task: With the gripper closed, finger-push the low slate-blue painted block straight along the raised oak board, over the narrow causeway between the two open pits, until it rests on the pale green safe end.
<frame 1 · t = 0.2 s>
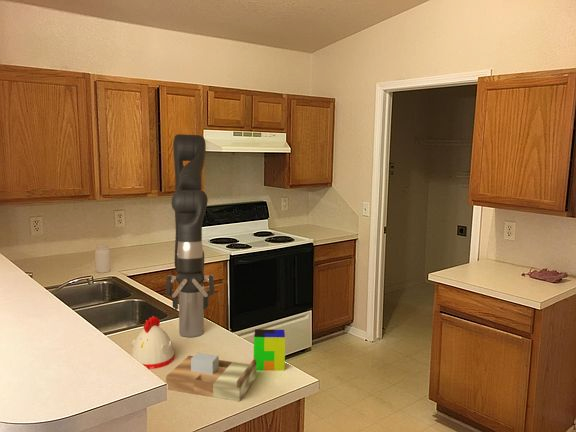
hand: (190, 309, 147), 22 cm above the counter, tool pointing down, fingers open, 8 cm apart
pill bottle: (103, 271, 270), on the counter
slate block: (204, 369, 147), point 4 cm above the counter, touching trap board
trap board: (212, 383, 147), on the counter
kitchen timer: (152, 360, 162), on the counter
puzzle toy: (269, 364, 161), on the counter
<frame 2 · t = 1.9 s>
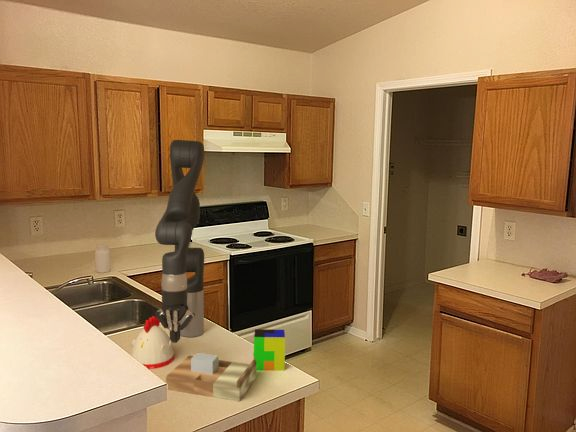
hand: (175, 341, 148), 12 cm above the counter, tool pointing down, fingers closed
nothing on the counter moved.
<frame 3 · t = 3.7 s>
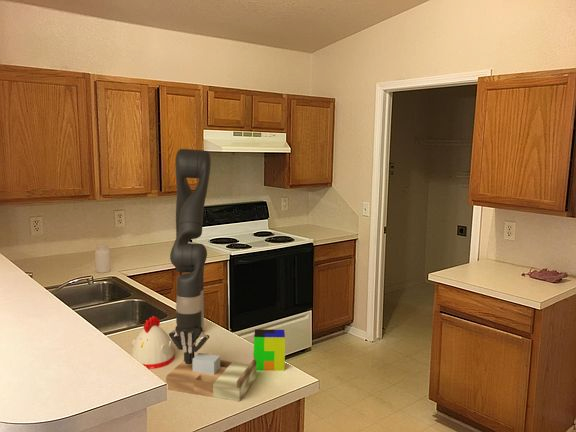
hand: (189, 363, 147), 5 cm above the counter, tool pointing down, fingers closed
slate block: (206, 369, 146), point 4 cm above the counter, touching gripper
everything else where it was.
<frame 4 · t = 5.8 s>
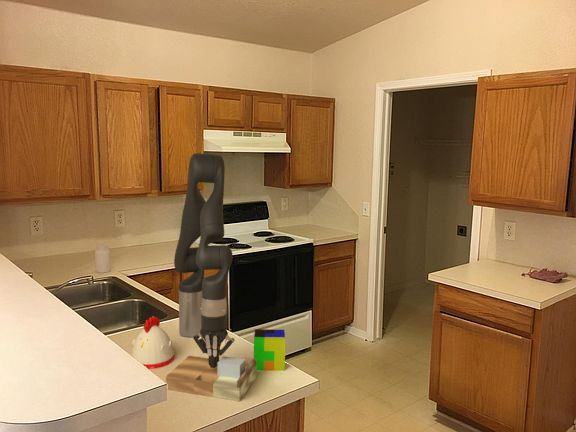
hand: (213, 366, 145), 5 cm above the counter, tool pointing down, fingers closed
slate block: (231, 373, 144), point 4 cm above the counter, touching gripper, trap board
everything else where it was.
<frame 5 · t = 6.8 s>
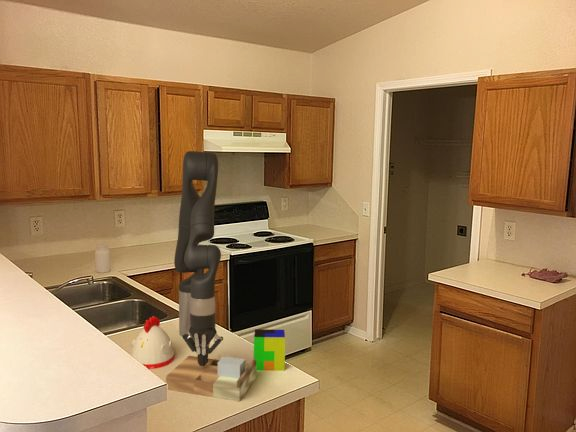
hand: (202, 364, 147), 5 cm above the counter, tool pointing down, fingers closed
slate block: (231, 373, 144), point 4 cm above the counter, touching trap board
everything else where it was.
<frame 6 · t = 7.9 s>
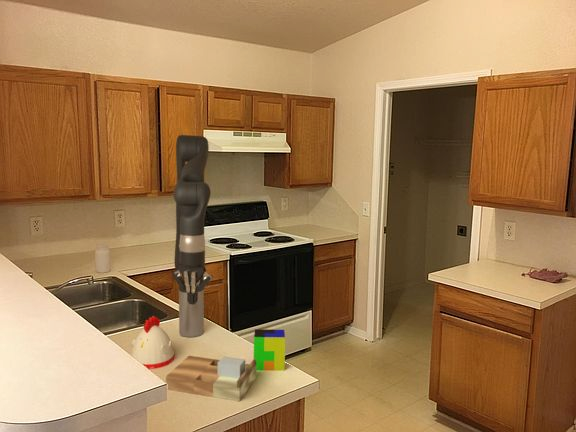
hand: (192, 303, 147), 24 cm above the counter, tool pointing down, fingers closed
nothing on the counter moved.
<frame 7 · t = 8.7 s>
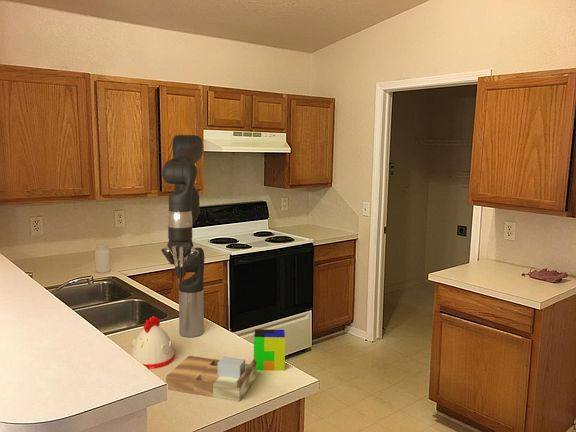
hand: (180, 277, 156), 29 cm above the counter, tool pointing down, fingers closed
nothing on the counter moved.
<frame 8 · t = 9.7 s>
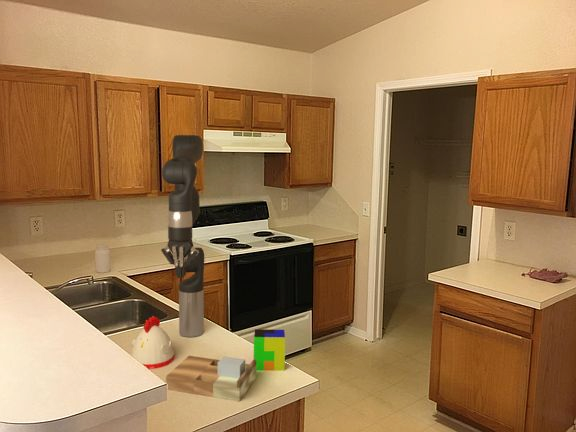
hand: (180, 277, 156), 29 cm above the counter, tool pointing down, fingers closed
nothing on the counter moved.
at the end: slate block inside the target area (1.3 cm from its centre), point 4.0 cm above the counter; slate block tilted 0°; the gripper is holding nothing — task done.
